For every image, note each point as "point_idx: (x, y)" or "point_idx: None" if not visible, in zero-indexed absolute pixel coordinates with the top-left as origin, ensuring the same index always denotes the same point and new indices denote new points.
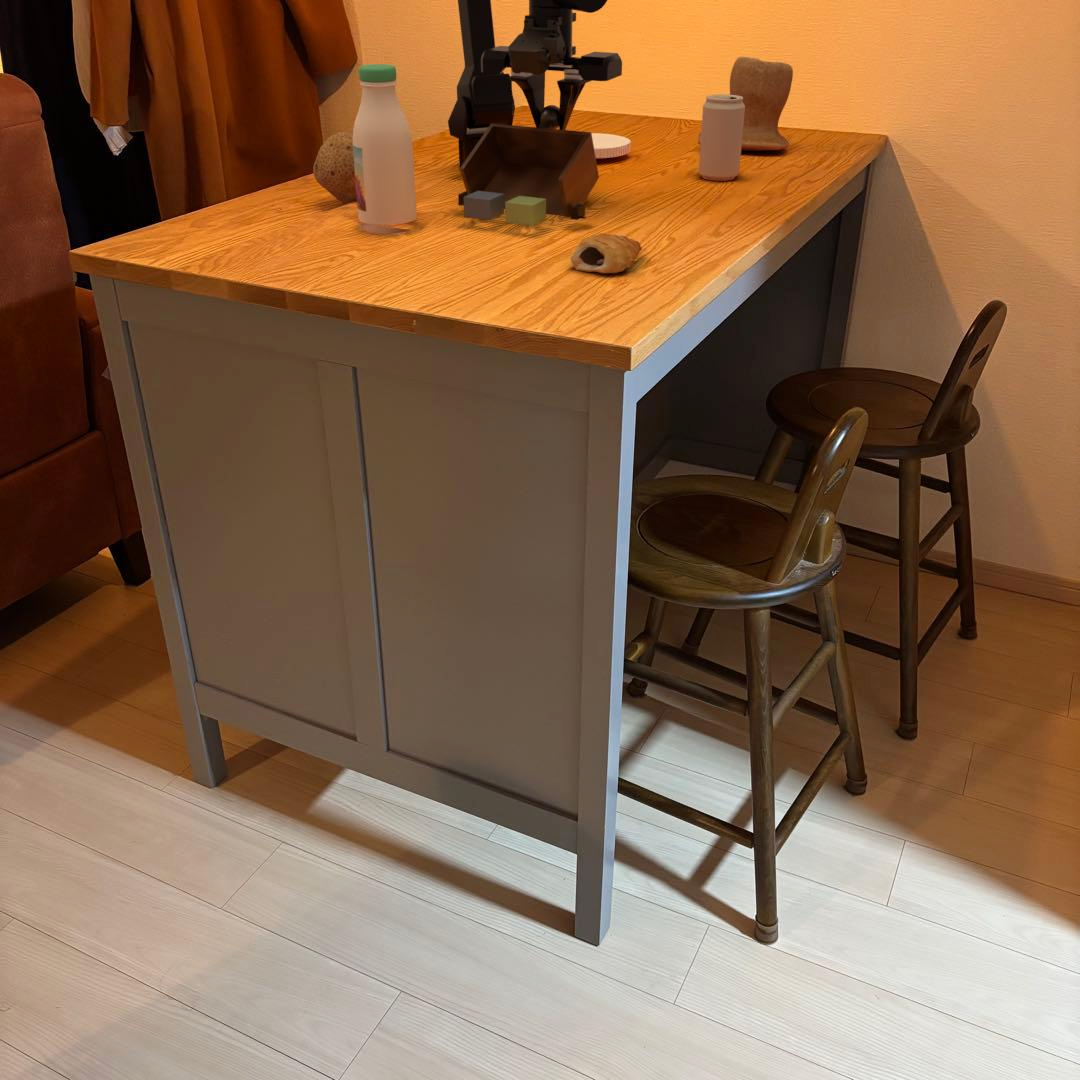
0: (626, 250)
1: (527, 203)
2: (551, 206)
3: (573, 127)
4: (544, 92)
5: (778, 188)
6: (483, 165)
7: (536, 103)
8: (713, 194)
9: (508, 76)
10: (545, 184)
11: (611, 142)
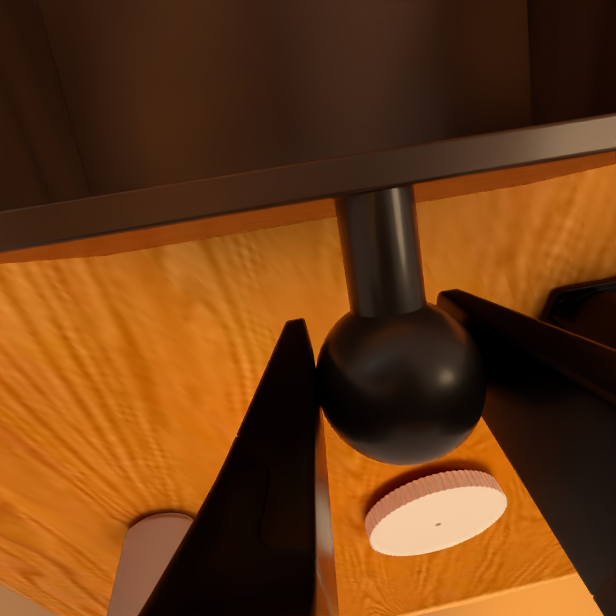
0: None
1: None
2: None
3: (504, 556)
4: (567, 553)
5: (26, 537)
6: None
7: (567, 396)
8: (70, 466)
9: None
10: (263, 83)
11: (399, 534)
